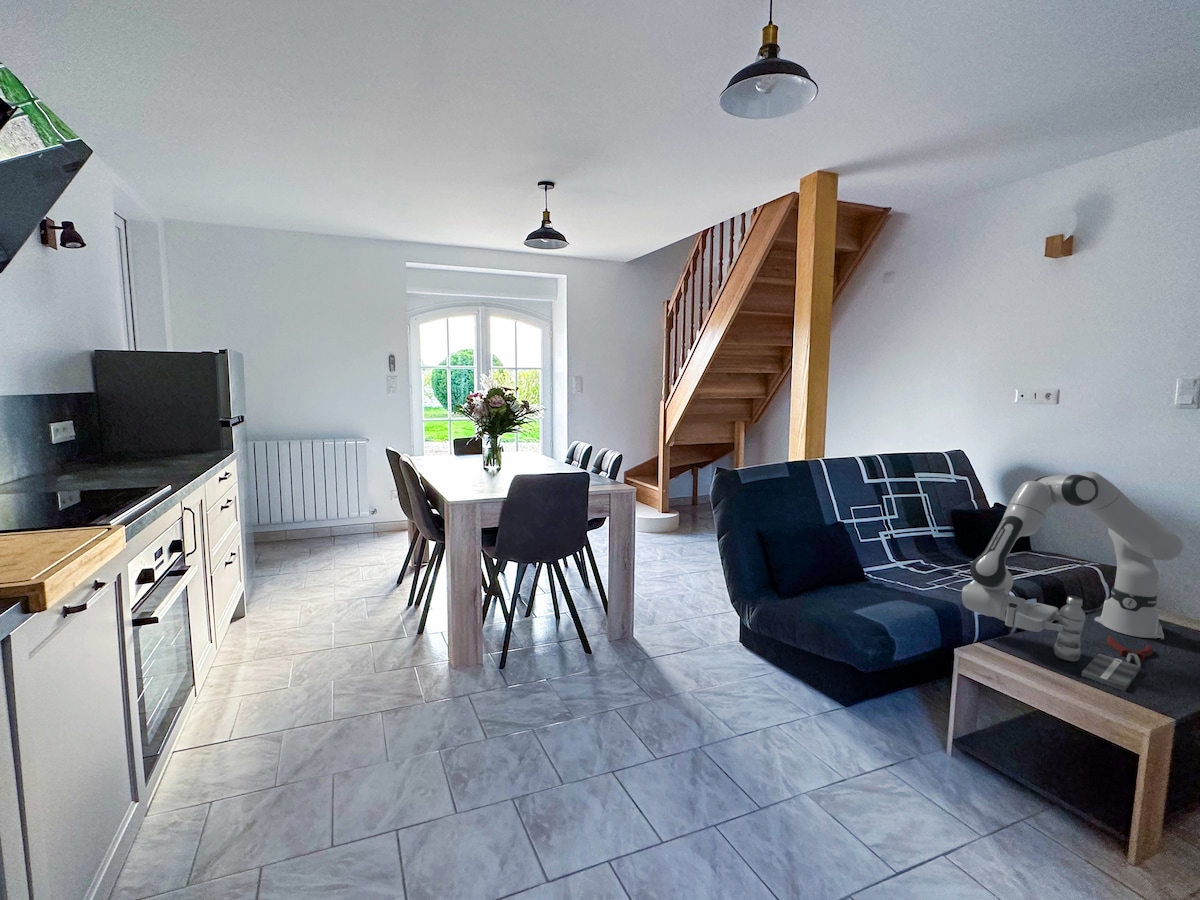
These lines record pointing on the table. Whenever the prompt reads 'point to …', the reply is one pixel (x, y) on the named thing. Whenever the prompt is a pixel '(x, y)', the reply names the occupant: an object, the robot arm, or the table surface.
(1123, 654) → the pliers
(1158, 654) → the table surface
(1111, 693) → the table surface
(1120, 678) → the subfloor board
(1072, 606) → the plastic bottle
